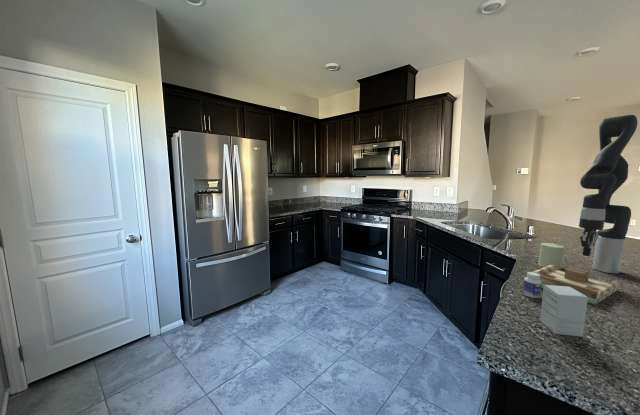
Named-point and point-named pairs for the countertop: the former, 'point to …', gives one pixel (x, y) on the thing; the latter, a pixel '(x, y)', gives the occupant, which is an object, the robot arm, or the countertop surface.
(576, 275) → the block
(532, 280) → the pill bottle
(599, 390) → the countertop surface
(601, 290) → the board
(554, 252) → the can
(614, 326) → the countertop surface
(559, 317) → the supplement box
